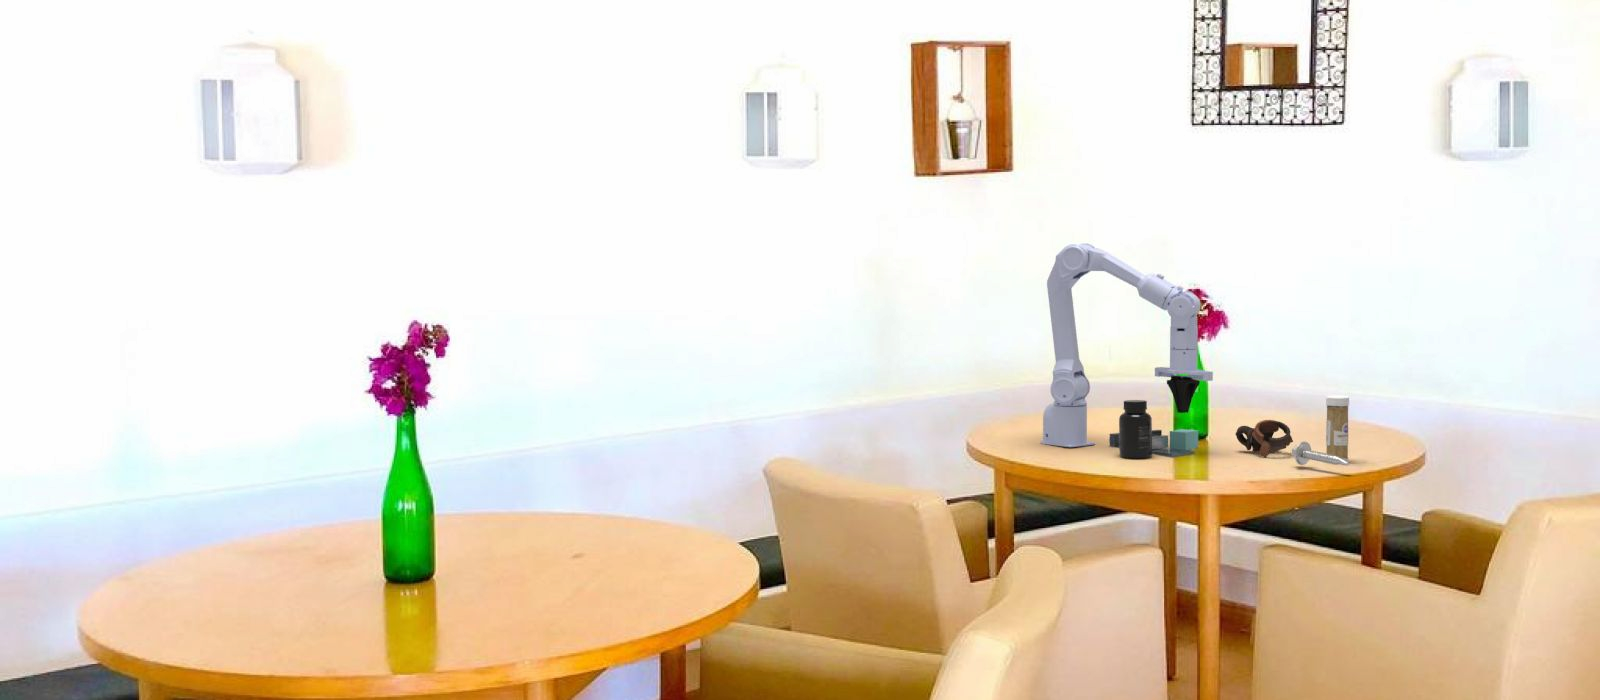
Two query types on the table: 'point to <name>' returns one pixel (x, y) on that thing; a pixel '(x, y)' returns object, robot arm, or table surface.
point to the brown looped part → (1264, 437)
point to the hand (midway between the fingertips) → (1182, 412)
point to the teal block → (1184, 439)
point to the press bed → (1162, 451)
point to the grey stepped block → (1159, 440)
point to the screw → (1314, 455)
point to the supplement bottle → (1135, 431)
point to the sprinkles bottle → (1337, 425)
